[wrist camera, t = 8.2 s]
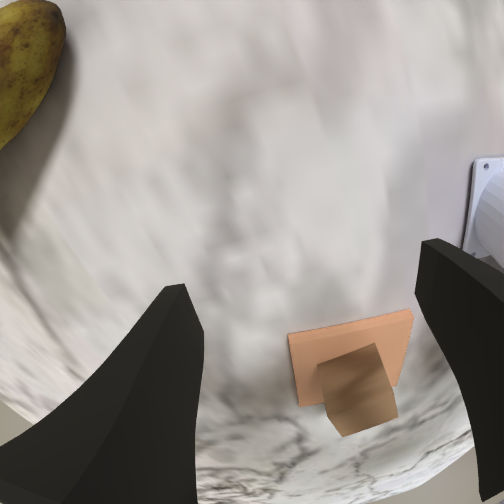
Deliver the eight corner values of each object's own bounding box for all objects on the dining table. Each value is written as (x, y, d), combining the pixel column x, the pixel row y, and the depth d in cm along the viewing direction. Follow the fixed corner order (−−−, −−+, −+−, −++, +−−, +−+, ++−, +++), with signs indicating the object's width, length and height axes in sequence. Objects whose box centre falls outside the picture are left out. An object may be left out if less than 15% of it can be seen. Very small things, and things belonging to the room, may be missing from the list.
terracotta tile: (409, 308, 23) (414, 317, 22) (393, 378, 28) (396, 385, 27) (287, 334, 23) (289, 343, 23) (298, 398, 29) (299, 407, 28)
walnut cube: (374, 342, 23) (393, 392, 19) (383, 372, 26) (398, 417, 21) (316, 364, 24) (327, 416, 20) (332, 391, 27) (342, 437, 22)
